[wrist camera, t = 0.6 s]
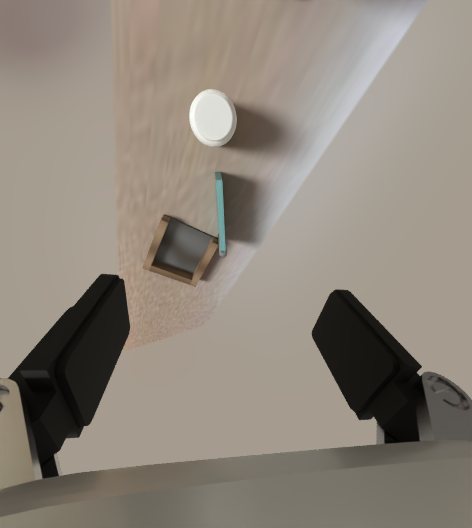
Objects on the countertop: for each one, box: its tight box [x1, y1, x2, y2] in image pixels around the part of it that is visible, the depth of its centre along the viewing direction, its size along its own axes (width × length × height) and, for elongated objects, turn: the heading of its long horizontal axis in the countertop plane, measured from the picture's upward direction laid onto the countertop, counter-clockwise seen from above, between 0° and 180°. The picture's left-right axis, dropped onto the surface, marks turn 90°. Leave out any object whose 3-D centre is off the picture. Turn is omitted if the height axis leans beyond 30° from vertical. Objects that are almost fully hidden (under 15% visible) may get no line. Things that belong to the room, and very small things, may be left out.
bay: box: [143, 215, 219, 287], centre depth 38 cm, size 10×10×2 cm
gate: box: [215, 172, 227, 257], centre depth 32 cm, size 1×12×7 cm, turn 1°
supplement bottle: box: [190, 89, 237, 147], centre depth 25 cm, size 5×5×10 cm
